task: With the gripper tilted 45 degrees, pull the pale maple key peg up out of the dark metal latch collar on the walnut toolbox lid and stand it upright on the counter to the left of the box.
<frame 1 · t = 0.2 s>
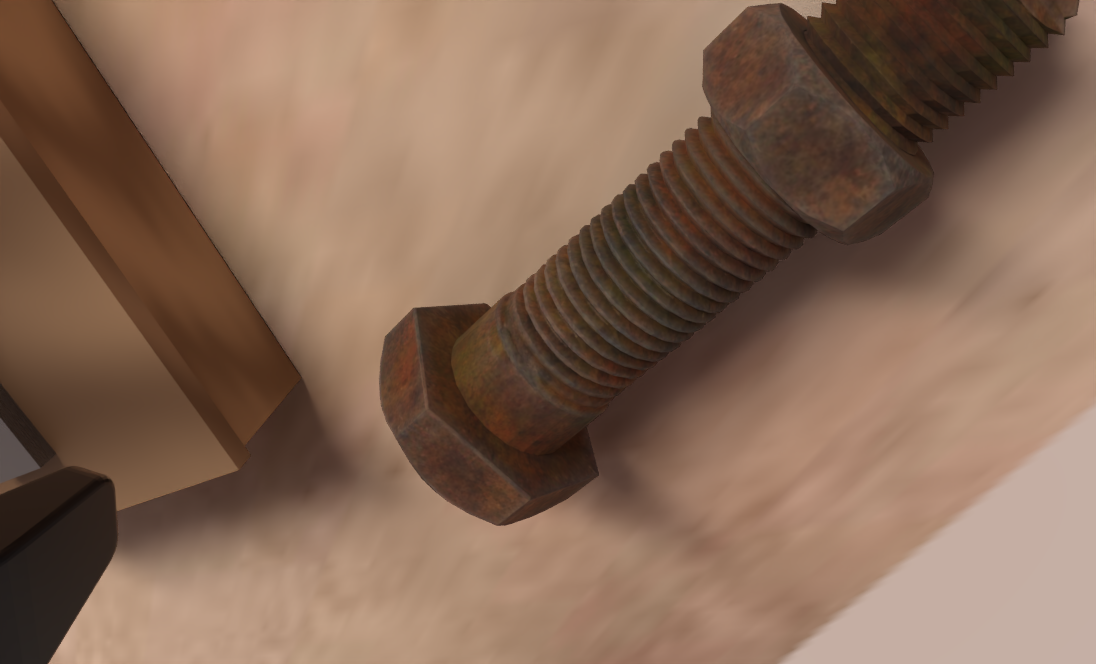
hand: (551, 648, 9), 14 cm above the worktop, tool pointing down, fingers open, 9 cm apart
bolt: (714, 186, 23), on the worktop
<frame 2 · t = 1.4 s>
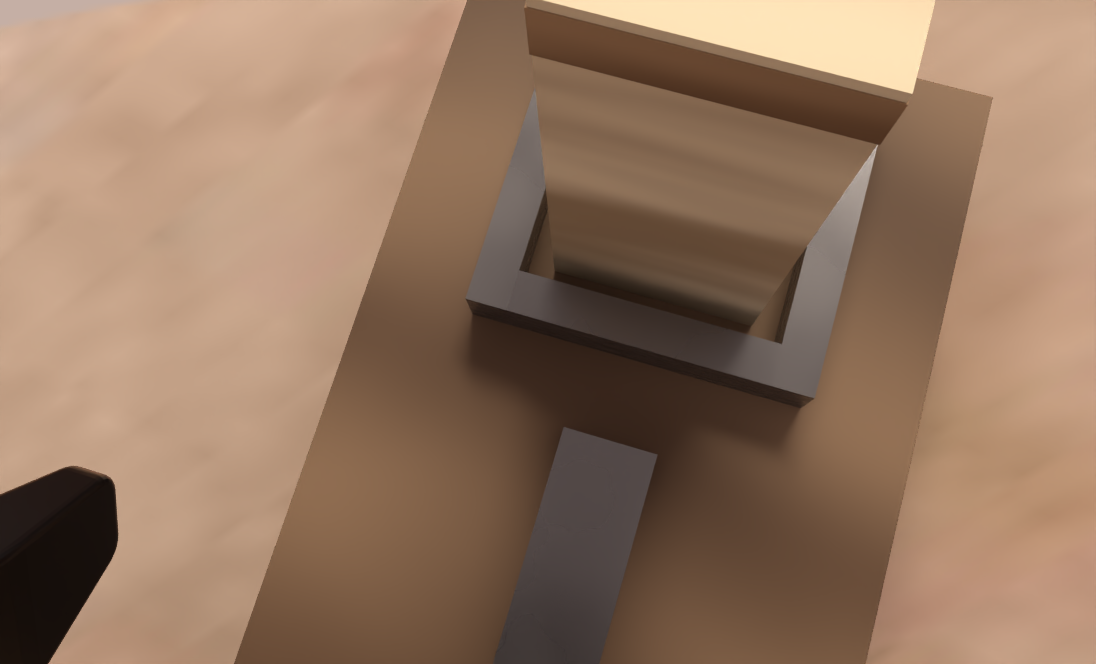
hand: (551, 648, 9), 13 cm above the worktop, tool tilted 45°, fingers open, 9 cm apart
maple key: (678, 205, 20), point 4 cm above the worktop, touching walnut toolbox
walnut toolbox: (605, 464, 23), on the worktop
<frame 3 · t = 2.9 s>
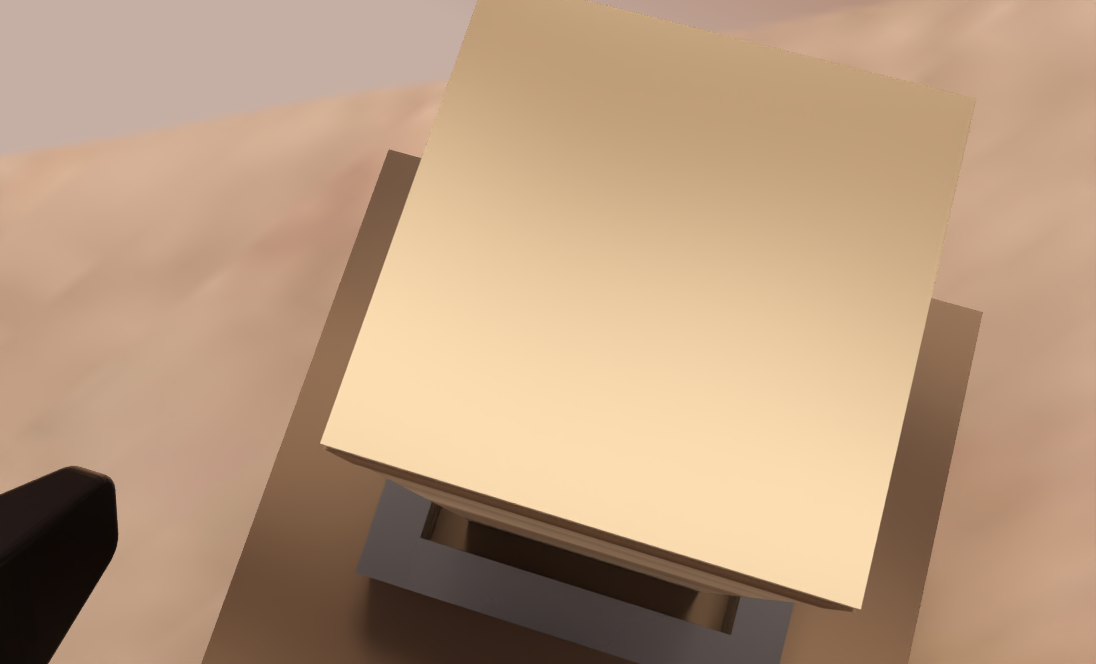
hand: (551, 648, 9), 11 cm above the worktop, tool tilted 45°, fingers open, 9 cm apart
maple key: (615, 441, 17), point 4 cm above the worktop, touching walnut toolbox
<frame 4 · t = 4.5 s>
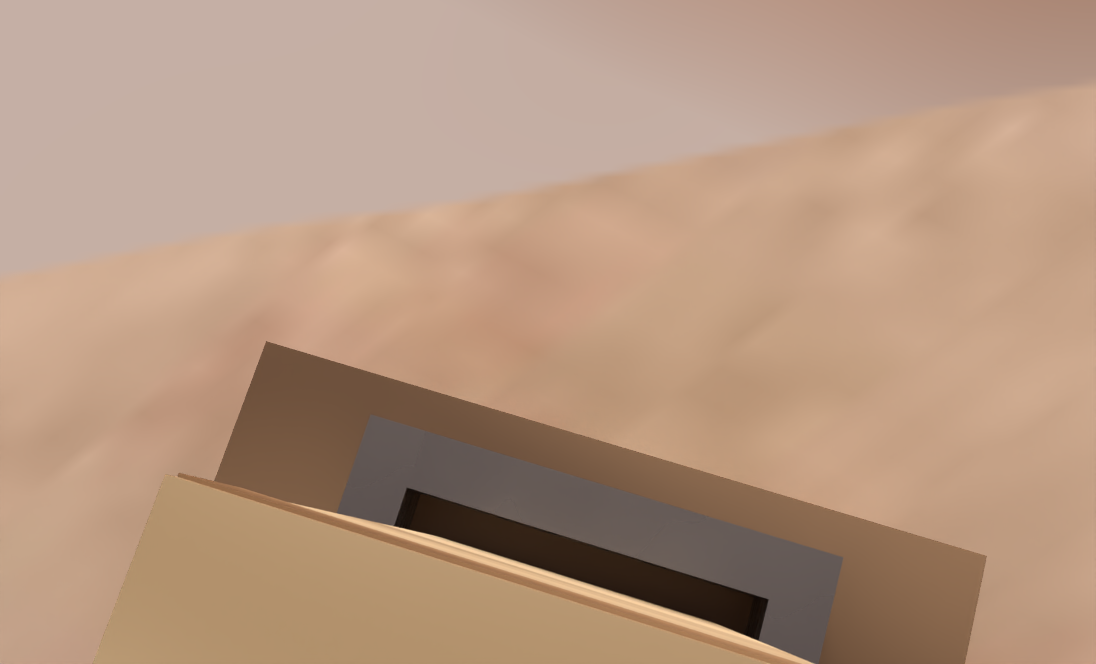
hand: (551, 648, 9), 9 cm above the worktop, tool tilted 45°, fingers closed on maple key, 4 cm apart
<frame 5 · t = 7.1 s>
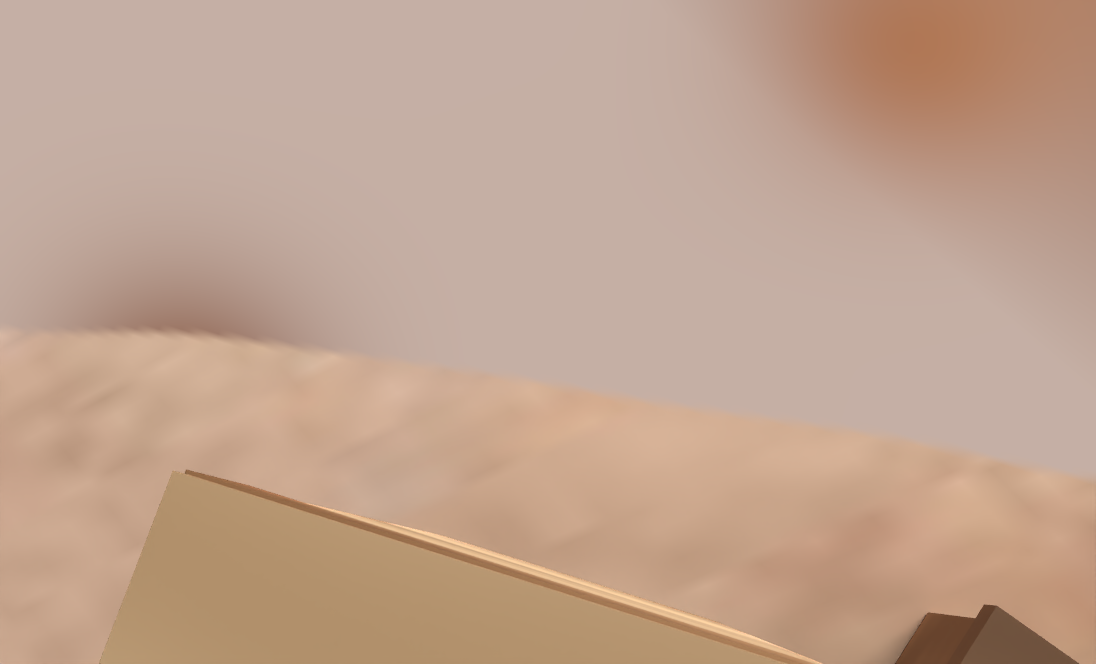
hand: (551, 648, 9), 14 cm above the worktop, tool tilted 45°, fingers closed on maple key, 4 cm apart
when the fingers open (7 cm above the worktop, at t = 9.7 s): maple key drops 1 cm, on the worktop.
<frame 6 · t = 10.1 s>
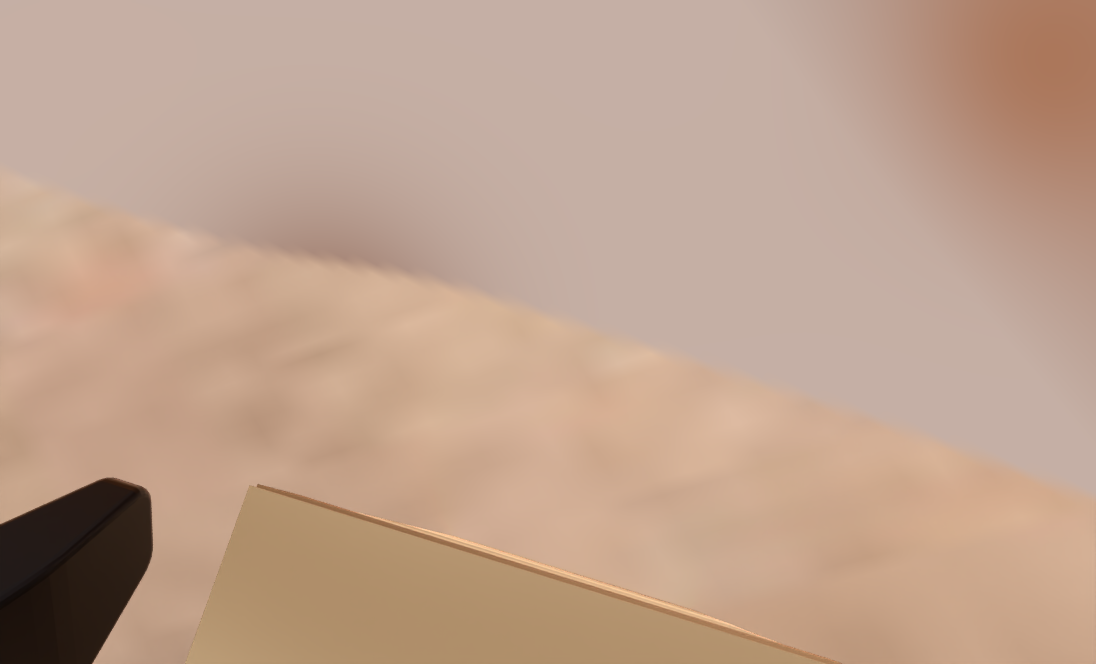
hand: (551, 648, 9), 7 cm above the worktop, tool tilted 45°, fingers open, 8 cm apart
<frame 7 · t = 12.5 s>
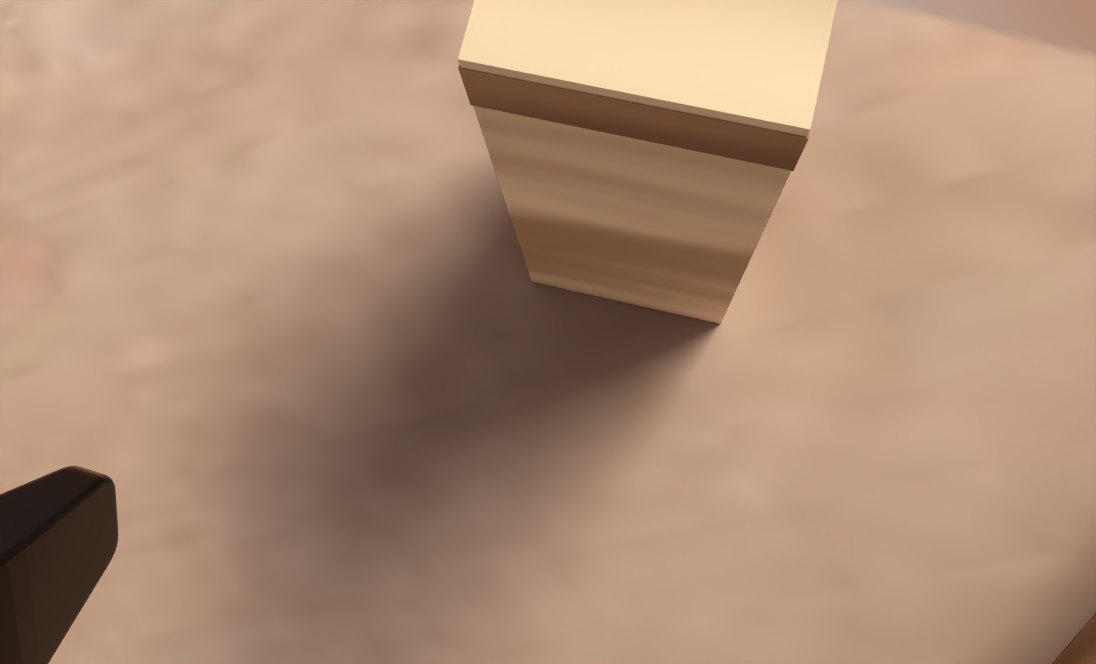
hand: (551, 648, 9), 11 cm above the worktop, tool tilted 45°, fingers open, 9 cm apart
maple key: (646, 212, 21), on the worktop
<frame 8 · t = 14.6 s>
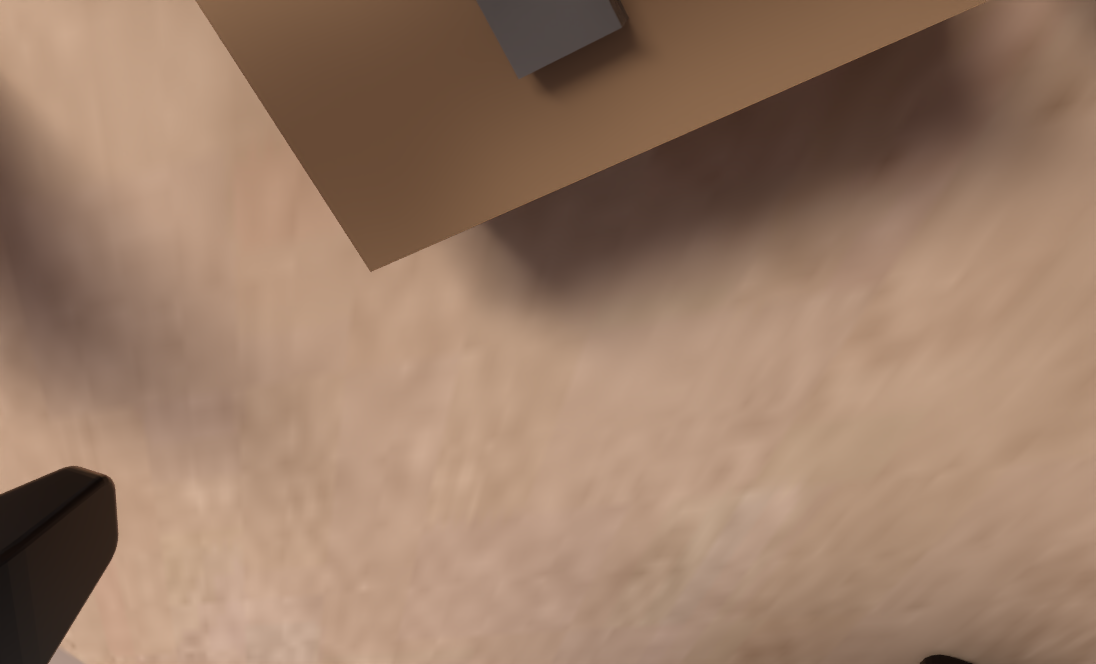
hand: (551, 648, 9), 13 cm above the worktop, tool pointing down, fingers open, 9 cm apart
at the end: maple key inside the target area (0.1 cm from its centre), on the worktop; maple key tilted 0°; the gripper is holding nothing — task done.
